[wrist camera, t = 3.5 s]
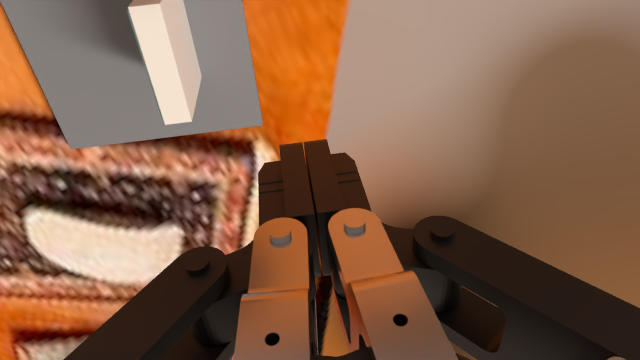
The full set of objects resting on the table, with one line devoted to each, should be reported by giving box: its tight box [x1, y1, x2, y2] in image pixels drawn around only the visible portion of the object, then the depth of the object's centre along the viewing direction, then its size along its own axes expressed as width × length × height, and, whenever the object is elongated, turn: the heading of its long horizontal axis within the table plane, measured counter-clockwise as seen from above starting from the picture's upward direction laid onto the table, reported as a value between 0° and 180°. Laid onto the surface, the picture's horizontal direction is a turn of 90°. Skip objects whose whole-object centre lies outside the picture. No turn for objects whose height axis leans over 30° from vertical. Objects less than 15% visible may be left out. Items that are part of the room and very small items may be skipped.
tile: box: [127, 0, 202, 125], centre depth 24 cm, size 6×2×6 cm, turn 4°
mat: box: [0, 0, 263, 149], centre depth 27 cm, size 14×13×1 cm
